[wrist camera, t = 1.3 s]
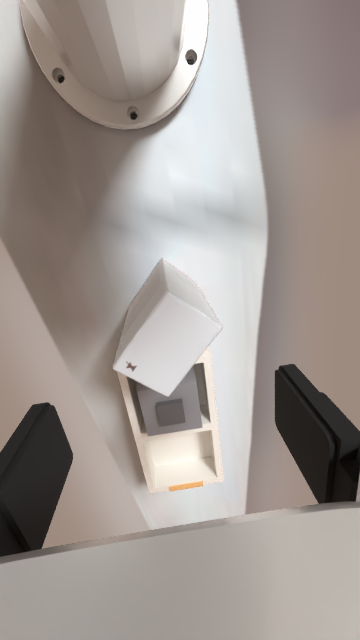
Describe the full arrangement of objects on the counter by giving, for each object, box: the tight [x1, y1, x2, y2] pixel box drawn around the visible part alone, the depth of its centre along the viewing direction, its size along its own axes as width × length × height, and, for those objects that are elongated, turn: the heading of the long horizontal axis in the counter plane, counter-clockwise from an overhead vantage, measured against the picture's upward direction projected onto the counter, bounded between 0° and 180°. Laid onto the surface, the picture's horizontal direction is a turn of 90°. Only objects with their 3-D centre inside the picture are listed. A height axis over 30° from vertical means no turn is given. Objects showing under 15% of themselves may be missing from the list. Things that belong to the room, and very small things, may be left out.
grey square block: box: [137, 367, 203, 436], centre depth 27 cm, size 6×6×5 cm
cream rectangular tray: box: [117, 347, 224, 493], centre depth 30 cm, size 18×9×4 cm, turn 8°
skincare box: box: [113, 258, 223, 397], centre depth 21 cm, size 6×4×12 cm
